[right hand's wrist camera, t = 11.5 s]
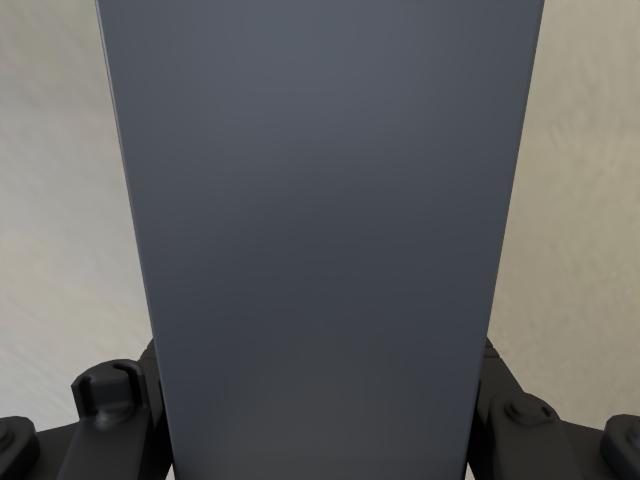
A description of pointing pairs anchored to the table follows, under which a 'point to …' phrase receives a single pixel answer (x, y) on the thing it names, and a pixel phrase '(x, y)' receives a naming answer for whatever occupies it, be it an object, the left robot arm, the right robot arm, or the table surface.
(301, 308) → the bar
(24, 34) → the table surface
